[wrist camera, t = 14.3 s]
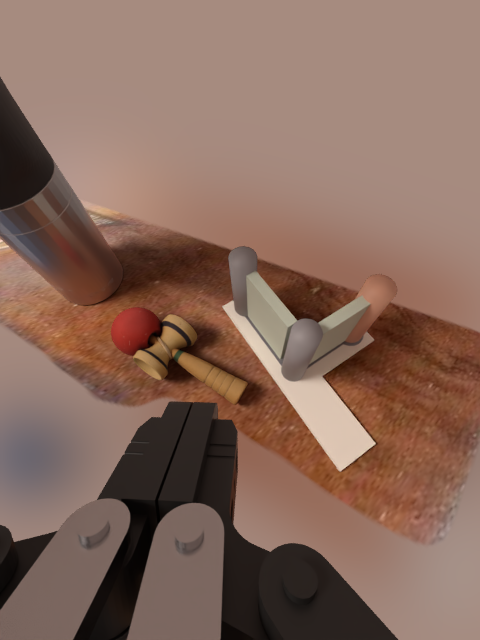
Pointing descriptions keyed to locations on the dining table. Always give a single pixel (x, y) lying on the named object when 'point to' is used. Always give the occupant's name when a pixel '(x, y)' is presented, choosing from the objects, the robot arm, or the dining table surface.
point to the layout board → (315, 394)
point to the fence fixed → (272, 315)
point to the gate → (356, 314)
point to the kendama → (169, 349)
